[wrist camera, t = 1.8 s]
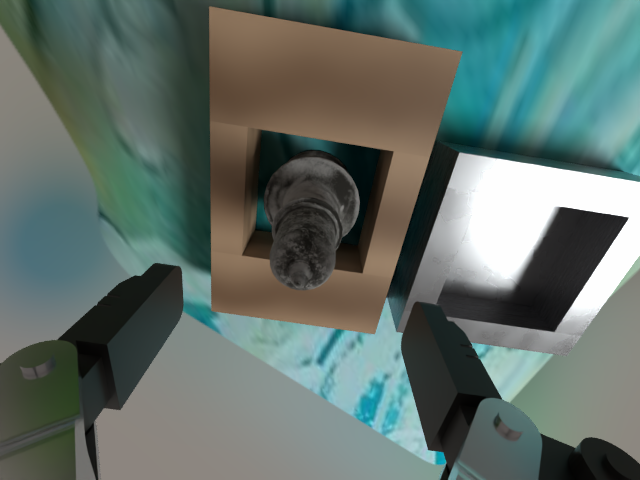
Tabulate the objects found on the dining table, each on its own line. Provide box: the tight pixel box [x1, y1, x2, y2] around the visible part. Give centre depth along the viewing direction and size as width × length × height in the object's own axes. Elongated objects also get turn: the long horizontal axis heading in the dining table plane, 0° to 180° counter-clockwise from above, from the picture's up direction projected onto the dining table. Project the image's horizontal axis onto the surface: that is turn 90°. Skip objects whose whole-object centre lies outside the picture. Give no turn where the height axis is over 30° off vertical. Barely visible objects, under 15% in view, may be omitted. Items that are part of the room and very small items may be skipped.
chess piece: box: [264, 150, 360, 290], centre depth 17 cm, size 6×6×12 cm
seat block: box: [388, 141, 640, 356], centre depth 22 cm, size 13×13×4 cm
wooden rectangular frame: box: [209, 6, 462, 334], centre depth 20 cm, size 18×12×4 cm, turn 171°
